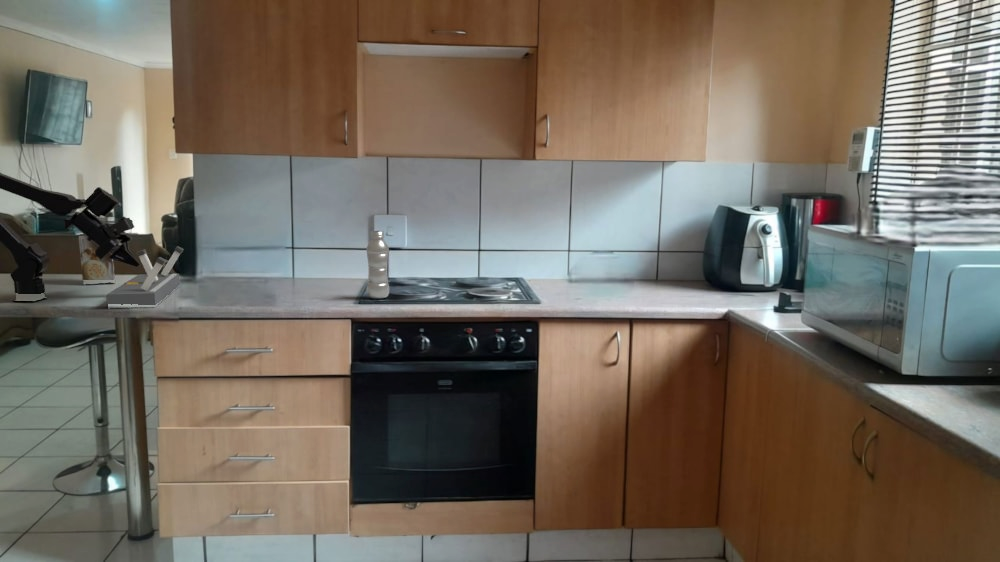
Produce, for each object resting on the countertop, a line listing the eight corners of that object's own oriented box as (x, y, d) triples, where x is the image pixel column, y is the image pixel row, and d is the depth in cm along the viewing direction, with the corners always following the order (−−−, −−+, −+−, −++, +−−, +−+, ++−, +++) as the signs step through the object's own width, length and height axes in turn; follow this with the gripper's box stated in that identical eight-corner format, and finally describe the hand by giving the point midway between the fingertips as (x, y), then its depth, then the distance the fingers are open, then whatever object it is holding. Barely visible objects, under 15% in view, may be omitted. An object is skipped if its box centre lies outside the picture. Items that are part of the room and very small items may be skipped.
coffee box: (116, 281, 239) (112, 232, 236) (114, 284, 233) (110, 234, 231) (84, 282, 235) (80, 233, 233) (82, 285, 230) (77, 235, 227)
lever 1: (139, 287, 198) (157, 257, 198) (142, 285, 201) (160, 256, 201) (146, 291, 199) (164, 261, 199) (149, 289, 202) (166, 260, 201)
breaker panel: (107, 309, 194) (106, 293, 194) (139, 287, 228) (138, 273, 227) (155, 307, 197) (154, 292, 196) (179, 286, 231) (179, 272, 230)
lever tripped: (150, 283, 211) (135, 252, 209) (152, 281, 214) (138, 251, 211) (157, 280, 211) (142, 250, 209) (159, 279, 214) (145, 249, 212)
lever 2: (160, 273, 223) (176, 247, 223) (162, 272, 226) (177, 246, 226) (166, 276, 224) (182, 250, 224) (168, 275, 226) (183, 249, 226)
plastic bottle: (369, 296, 217) (367, 230, 214) (391, 296, 217) (390, 230, 214) (364, 300, 211) (363, 232, 207) (387, 300, 210) (386, 232, 207)
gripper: (104, 210, 198) (150, 249, 202) (122, 206, 216) (164, 242, 220) (75, 239, 197) (122, 278, 202) (95, 233, 215) (138, 268, 219)
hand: (138, 265), depth 211 cm, fingers closed
